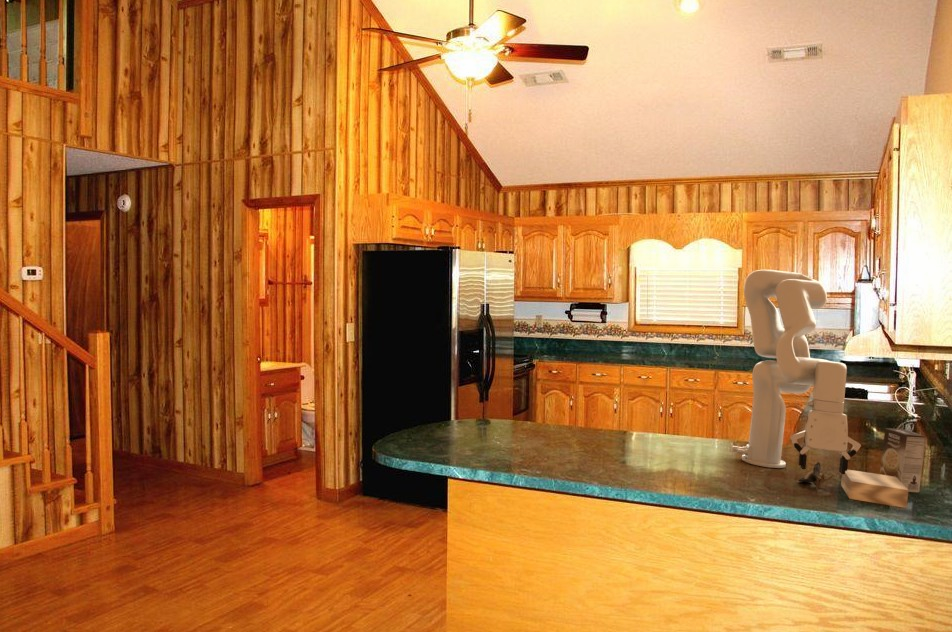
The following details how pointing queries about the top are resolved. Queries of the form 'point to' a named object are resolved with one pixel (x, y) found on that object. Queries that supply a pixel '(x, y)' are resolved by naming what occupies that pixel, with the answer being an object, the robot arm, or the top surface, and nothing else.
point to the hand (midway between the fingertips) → (822, 470)
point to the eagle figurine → (815, 476)
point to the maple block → (874, 488)
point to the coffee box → (903, 457)
